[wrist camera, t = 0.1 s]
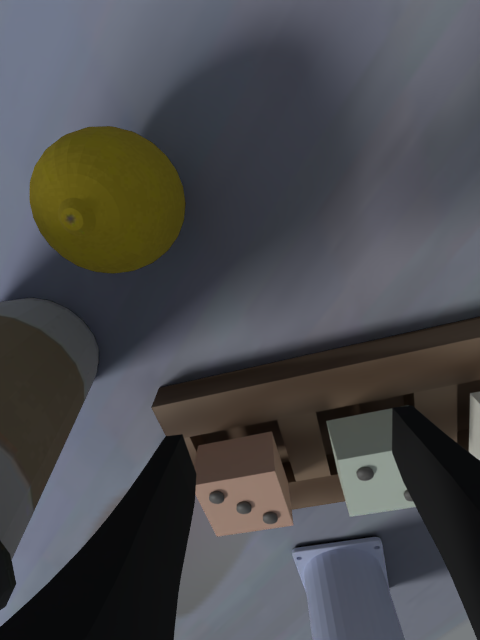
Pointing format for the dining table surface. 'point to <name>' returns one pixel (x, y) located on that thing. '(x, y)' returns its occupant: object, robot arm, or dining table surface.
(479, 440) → the tile one pip
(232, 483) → the tile three pip
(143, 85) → the dining table surface
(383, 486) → the tile two pip
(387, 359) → the board
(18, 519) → the coffee cup
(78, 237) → the lemon
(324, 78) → the dining table surface
